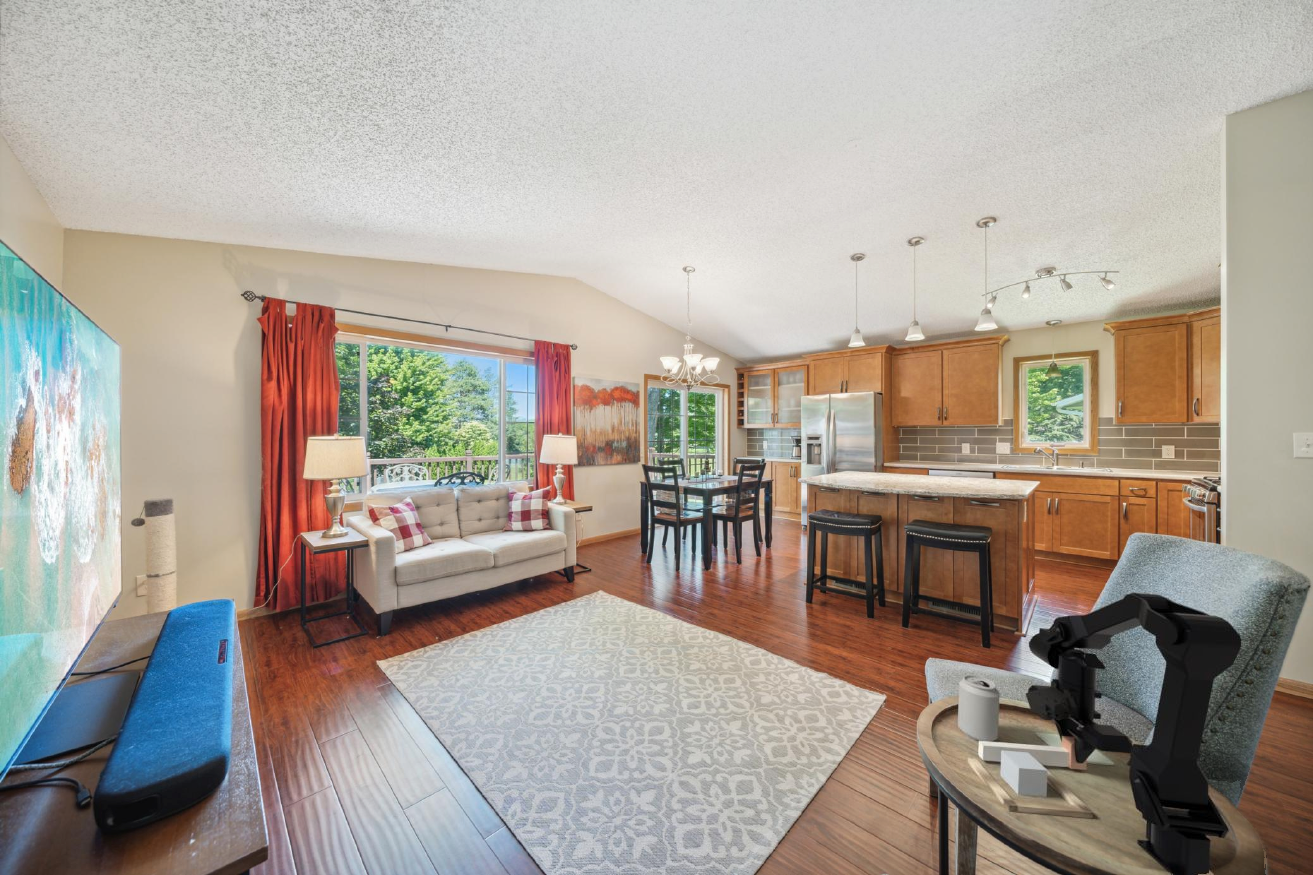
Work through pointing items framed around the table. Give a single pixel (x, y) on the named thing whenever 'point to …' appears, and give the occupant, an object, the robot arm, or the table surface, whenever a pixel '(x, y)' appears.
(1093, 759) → the mat
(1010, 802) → the wooden u frame
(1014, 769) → the block
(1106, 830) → the table surface
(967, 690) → the can
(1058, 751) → the bar
